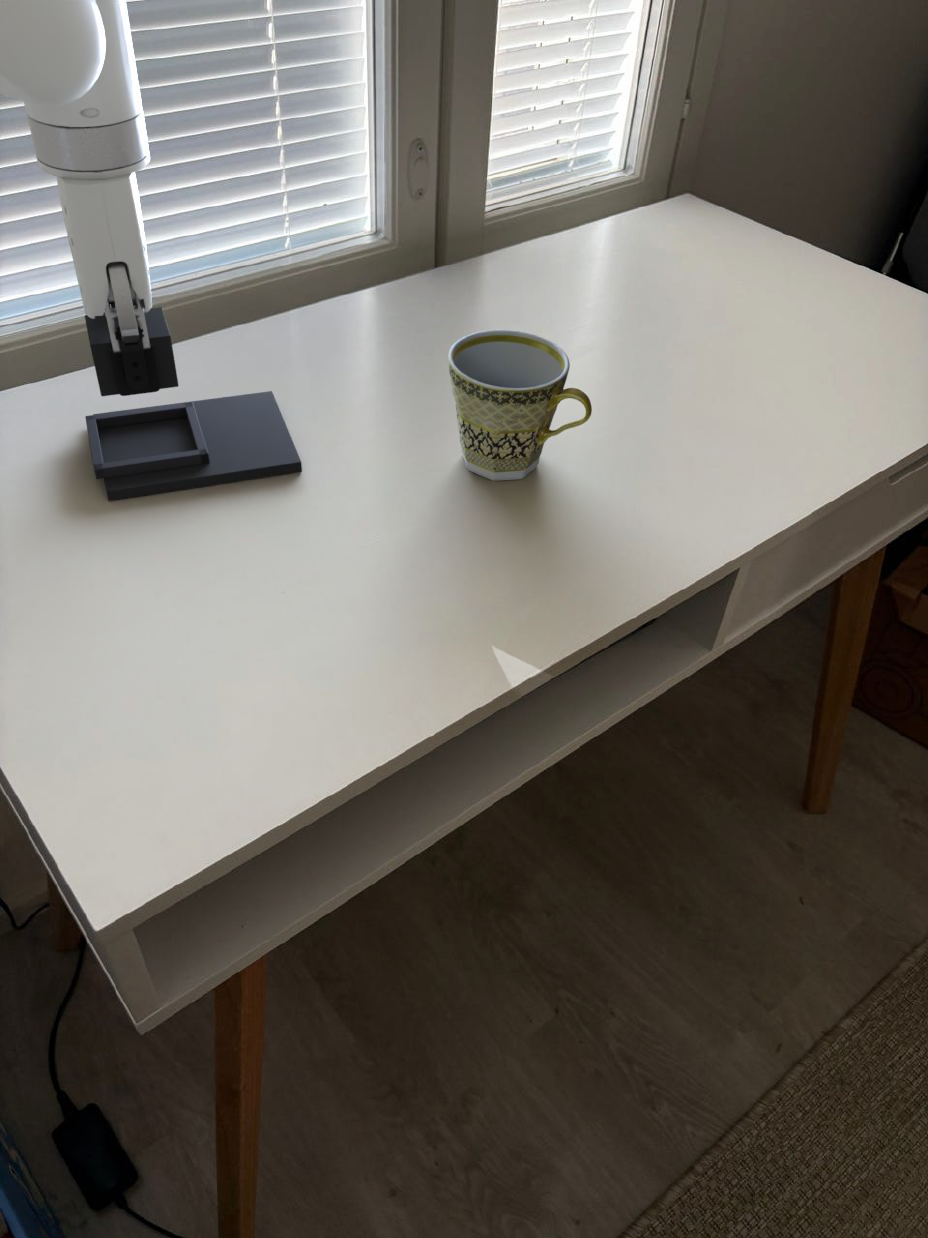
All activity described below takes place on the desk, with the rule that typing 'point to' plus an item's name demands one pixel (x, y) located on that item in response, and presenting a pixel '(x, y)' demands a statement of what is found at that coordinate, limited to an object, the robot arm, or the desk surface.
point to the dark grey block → (157, 336)
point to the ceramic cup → (508, 399)
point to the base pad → (190, 445)
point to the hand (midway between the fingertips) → (135, 371)
